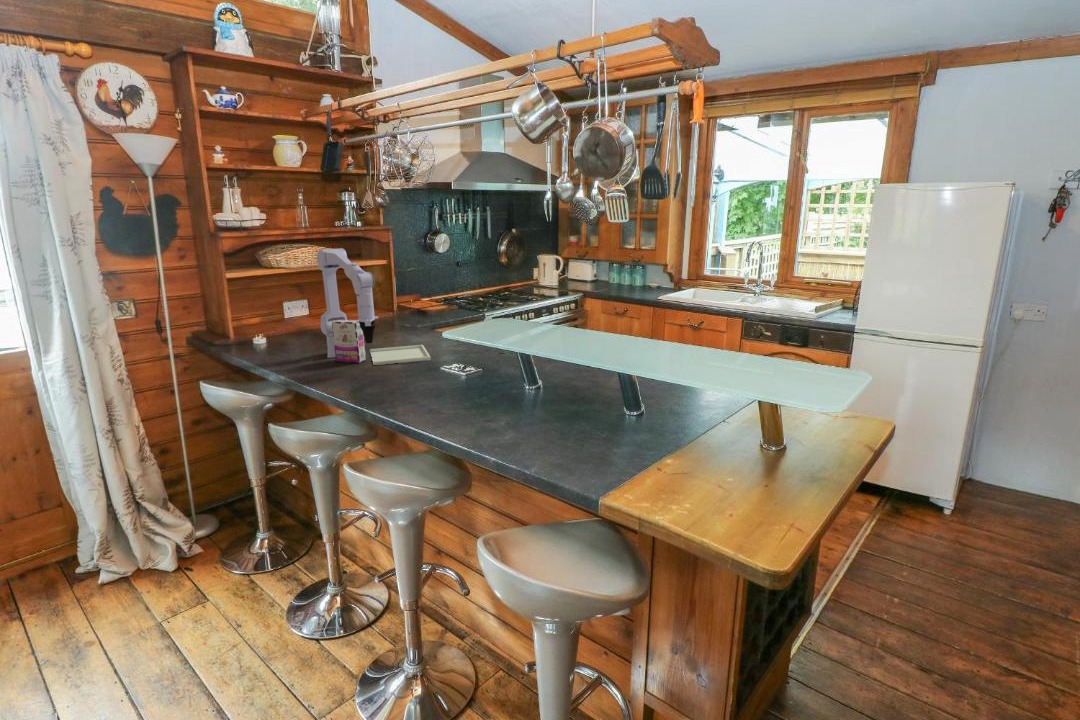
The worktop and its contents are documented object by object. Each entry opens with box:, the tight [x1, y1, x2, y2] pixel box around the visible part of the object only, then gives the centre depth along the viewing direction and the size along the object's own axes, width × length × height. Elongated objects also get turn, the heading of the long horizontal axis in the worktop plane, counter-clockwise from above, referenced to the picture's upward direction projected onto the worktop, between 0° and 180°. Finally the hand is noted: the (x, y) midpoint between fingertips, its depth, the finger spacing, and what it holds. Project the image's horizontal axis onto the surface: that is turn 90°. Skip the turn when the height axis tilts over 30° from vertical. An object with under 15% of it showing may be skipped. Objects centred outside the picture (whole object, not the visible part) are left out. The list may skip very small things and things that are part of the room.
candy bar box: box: [332, 319, 367, 364], centre depth 233 cm, size 11×5×16 cm, turn 73°
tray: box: [369, 344, 432, 366], centre depth 241 cm, size 22×22×2 cm
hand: (368, 341), depth 222 cm, fingers open, 5 cm apart
